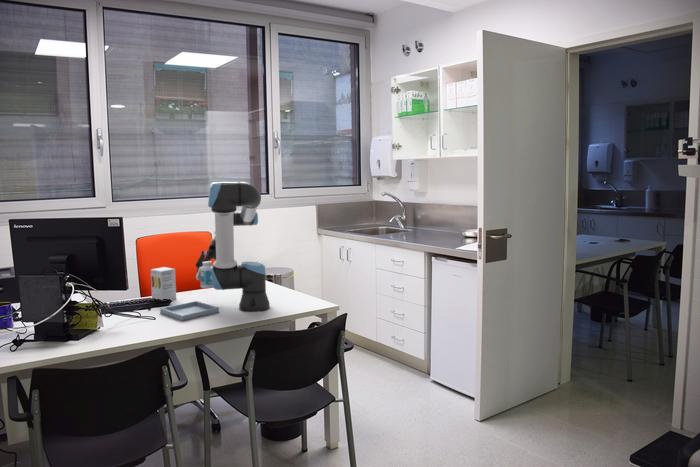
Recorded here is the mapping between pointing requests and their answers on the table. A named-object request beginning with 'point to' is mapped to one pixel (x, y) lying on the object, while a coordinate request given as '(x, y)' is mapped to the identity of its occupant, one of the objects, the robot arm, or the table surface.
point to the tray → (189, 310)
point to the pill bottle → (206, 275)
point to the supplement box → (163, 283)
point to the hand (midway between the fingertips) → (204, 278)
